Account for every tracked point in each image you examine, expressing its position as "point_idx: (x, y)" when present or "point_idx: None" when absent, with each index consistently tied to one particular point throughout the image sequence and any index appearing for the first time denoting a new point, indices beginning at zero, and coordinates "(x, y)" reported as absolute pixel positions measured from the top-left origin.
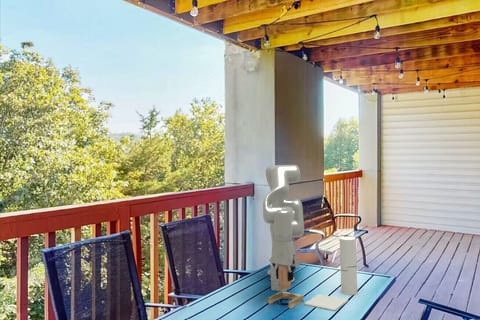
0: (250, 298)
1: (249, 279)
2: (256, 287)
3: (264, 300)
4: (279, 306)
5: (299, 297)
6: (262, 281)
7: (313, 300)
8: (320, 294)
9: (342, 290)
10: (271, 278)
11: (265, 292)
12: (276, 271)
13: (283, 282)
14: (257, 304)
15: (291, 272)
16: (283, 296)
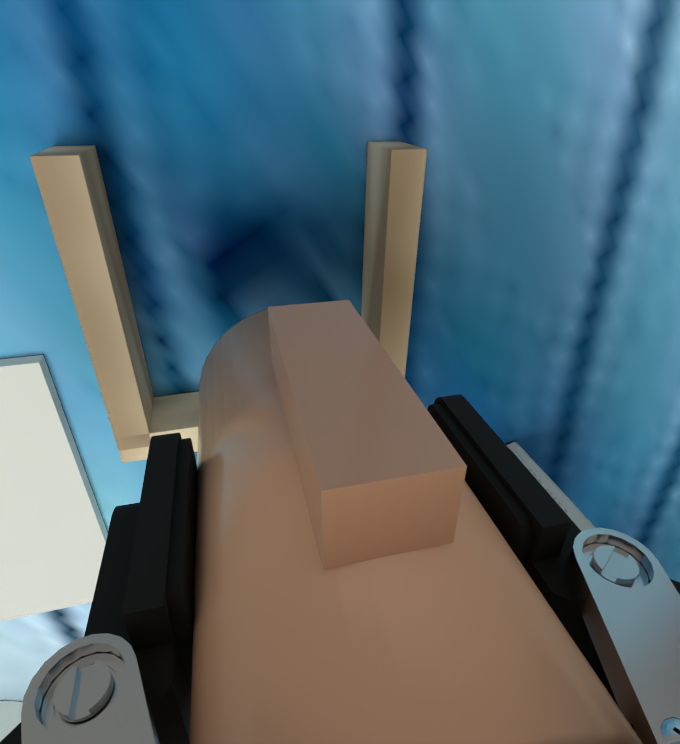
0: (625, 170)
1: None
2: (640, 417)
3: (476, 207)
4: (234, 137)
5: (104, 393)
6: (629, 517)
7: (31, 476)
8: None
9: (5, 727)
10: (579, 517)
11: (543, 381)
12: (540, 496)
13: (269, 364)
14: (498, 35)
15: (83, 657)
16: None
